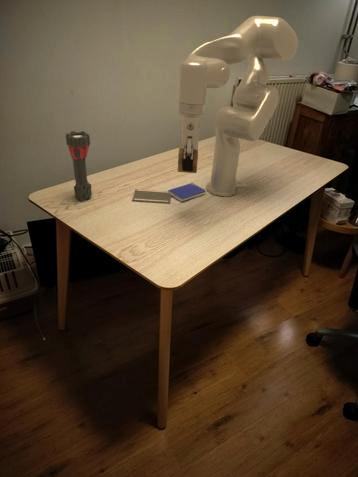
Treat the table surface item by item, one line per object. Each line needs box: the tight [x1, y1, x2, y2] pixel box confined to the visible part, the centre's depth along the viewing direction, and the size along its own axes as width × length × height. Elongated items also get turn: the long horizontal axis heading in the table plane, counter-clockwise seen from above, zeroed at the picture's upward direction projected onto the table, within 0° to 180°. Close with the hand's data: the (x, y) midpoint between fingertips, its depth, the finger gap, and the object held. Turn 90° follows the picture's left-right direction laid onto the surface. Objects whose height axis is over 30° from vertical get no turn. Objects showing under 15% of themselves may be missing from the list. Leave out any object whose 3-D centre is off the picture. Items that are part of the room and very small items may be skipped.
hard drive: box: [167, 182, 207, 202], centre depth 127 cm, size 2×8×12 cm
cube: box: [177, 146, 199, 174], centre depth 105 cm, size 6×6×6 cm
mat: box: [131, 188, 172, 205], centre depth 124 cm, size 14×9×1 cm, turn 89°
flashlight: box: [65, 130, 92, 202], centre depth 115 cm, size 8×8×23 cm
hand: (187, 165), depth 106 cm, fingers closed on cube, 6 cm apart
